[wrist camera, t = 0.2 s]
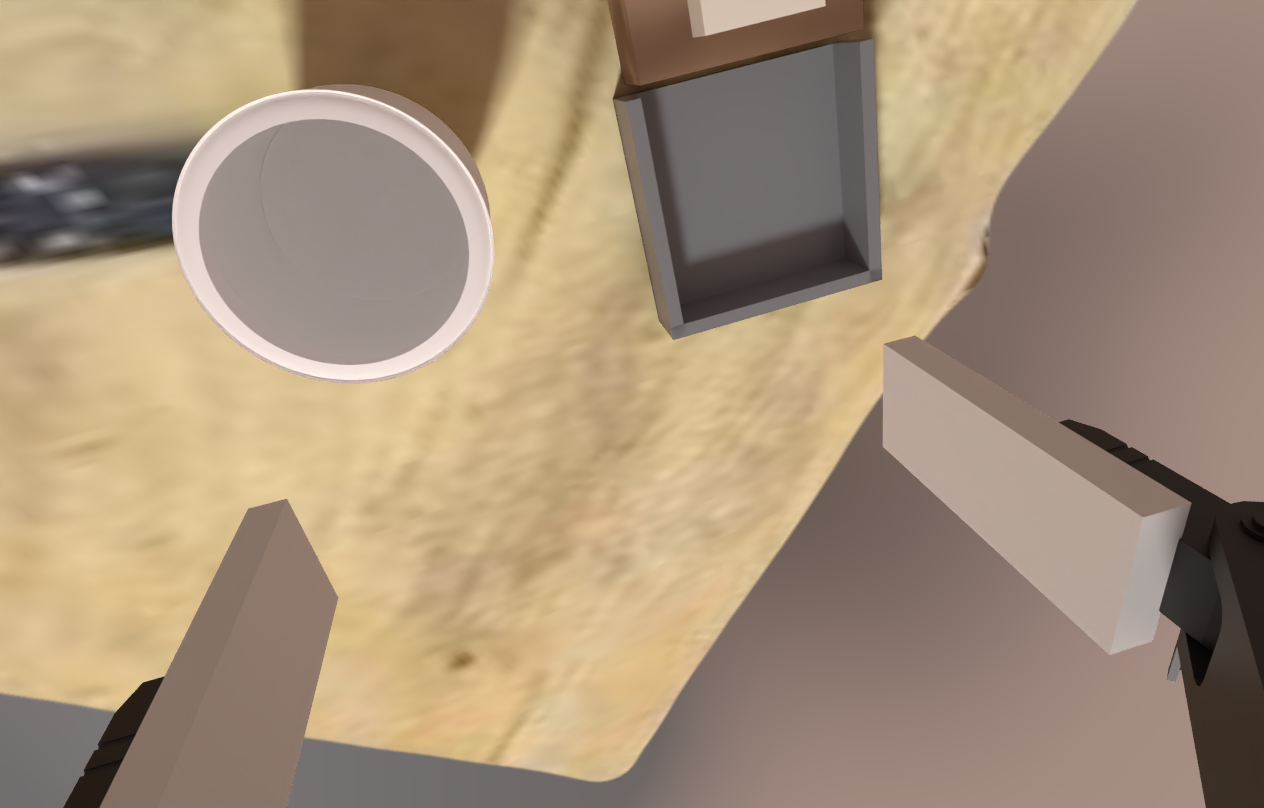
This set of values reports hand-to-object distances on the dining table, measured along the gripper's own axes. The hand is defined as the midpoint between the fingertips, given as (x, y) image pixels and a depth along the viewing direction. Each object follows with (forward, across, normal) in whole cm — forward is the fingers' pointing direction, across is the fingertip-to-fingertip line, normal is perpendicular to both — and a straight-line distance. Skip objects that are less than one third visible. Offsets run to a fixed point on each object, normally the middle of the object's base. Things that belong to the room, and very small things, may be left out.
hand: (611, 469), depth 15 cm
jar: (+28, -7, +3) cm, 29 cm away
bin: (+28, +13, -1) cm, 31 cm away
